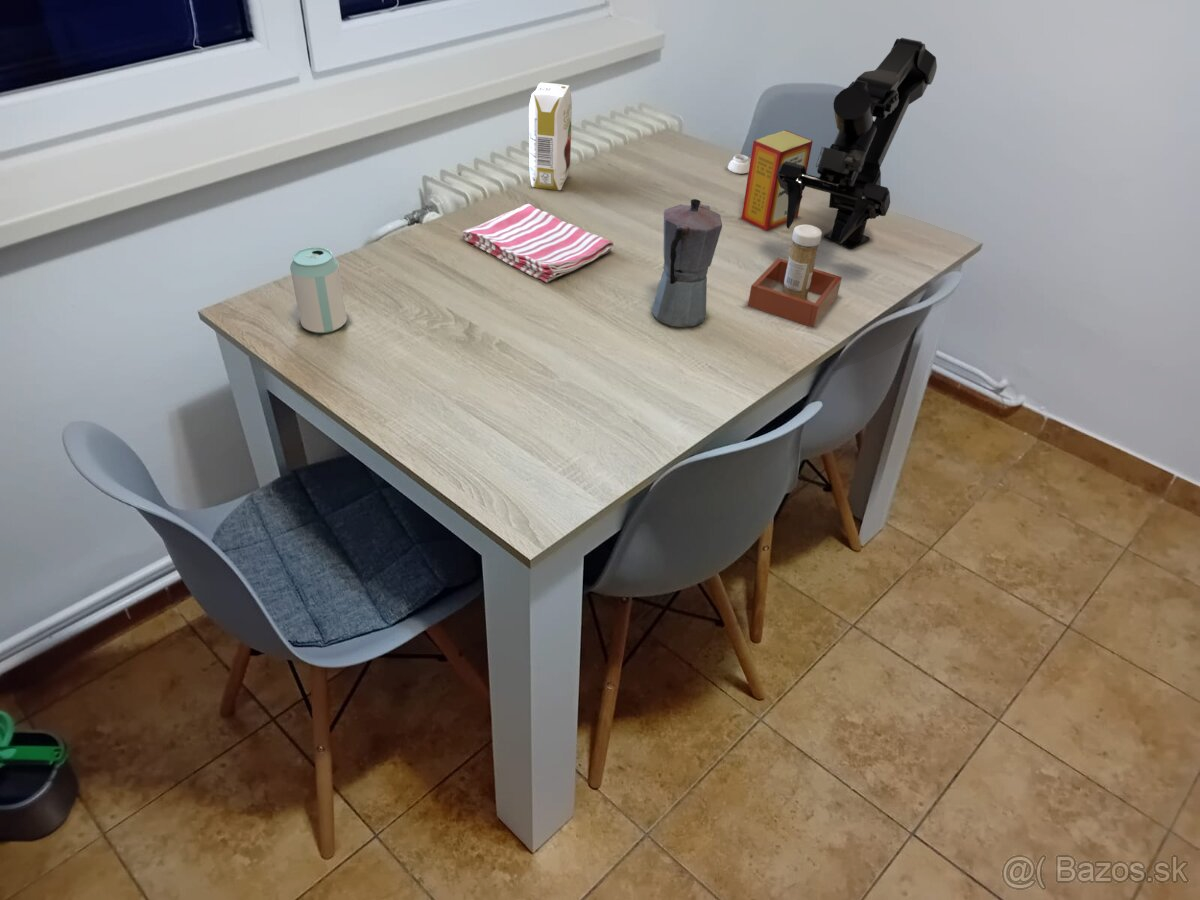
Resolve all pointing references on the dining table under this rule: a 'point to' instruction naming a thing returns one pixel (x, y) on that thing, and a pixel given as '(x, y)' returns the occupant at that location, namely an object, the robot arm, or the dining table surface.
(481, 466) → the dining table surface
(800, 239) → the sprinkles bottle
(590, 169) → the dining table surface
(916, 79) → the robot arm
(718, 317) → the dining table surface
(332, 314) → the can
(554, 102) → the juice carton
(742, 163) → the white jar
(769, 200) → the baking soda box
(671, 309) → the moka pot
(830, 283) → the holder
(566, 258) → the dish towel
